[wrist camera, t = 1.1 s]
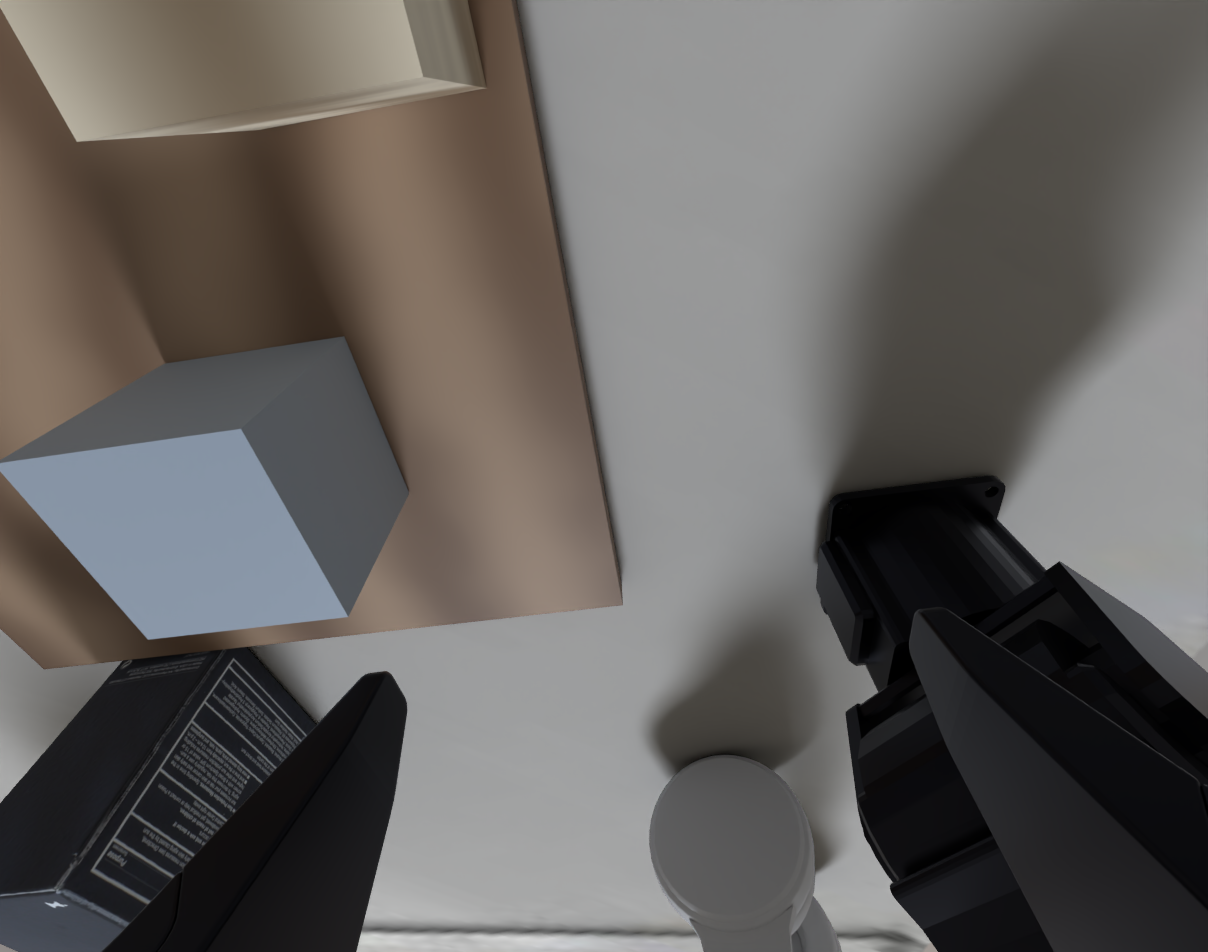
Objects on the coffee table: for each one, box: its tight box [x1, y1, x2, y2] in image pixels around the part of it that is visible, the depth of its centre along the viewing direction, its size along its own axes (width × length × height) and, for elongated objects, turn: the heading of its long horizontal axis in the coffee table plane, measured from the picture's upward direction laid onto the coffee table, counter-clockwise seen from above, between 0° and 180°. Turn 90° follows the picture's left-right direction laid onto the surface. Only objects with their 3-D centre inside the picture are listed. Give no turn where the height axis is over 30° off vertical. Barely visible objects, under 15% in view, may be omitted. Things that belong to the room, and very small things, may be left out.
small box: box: [0, 647, 316, 952], centre depth 25 cm, size 11×6×10 cm, turn 14°
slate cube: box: [0, 336, 409, 640], centre depth 17 cm, size 6×6×6 cm
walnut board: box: [0, 0, 623, 669], centre depth 19 cm, size 27×25×1 cm
